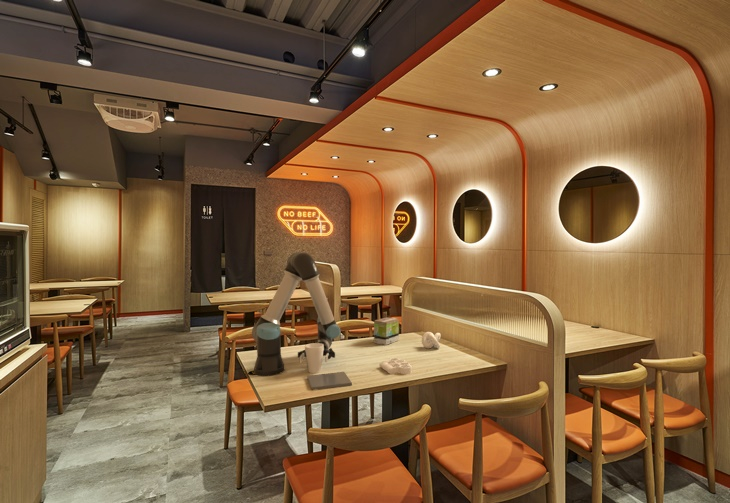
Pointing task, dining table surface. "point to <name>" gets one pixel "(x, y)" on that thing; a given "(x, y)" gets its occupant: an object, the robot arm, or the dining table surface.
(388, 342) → the tea box
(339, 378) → the tile
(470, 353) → the dining table surface
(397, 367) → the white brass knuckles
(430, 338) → the pretzel
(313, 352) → the foam cup
